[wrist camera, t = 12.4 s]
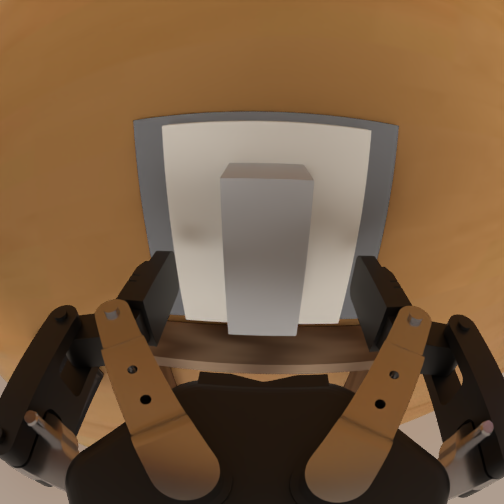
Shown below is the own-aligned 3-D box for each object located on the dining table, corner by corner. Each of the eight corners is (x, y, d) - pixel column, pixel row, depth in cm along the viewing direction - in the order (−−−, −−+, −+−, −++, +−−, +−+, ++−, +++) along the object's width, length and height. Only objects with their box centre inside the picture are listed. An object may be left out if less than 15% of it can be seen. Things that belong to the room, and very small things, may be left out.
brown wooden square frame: (183, 422, 29) (178, 446, 26) (143, 318, 20) (127, 352, 17) (332, 426, 28) (334, 450, 25) (380, 324, 19) (393, 358, 16)
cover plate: (189, 309, 19) (175, 353, 15) (168, 124, 13) (135, 132, 9) (335, 313, 18) (347, 357, 15) (364, 128, 12) (398, 138, 9)
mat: (164, 310, 19) (163, 313, 19) (135, 120, 13) (133, 120, 13) (359, 315, 19) (360, 318, 18) (396, 125, 12) (398, 125, 12)
